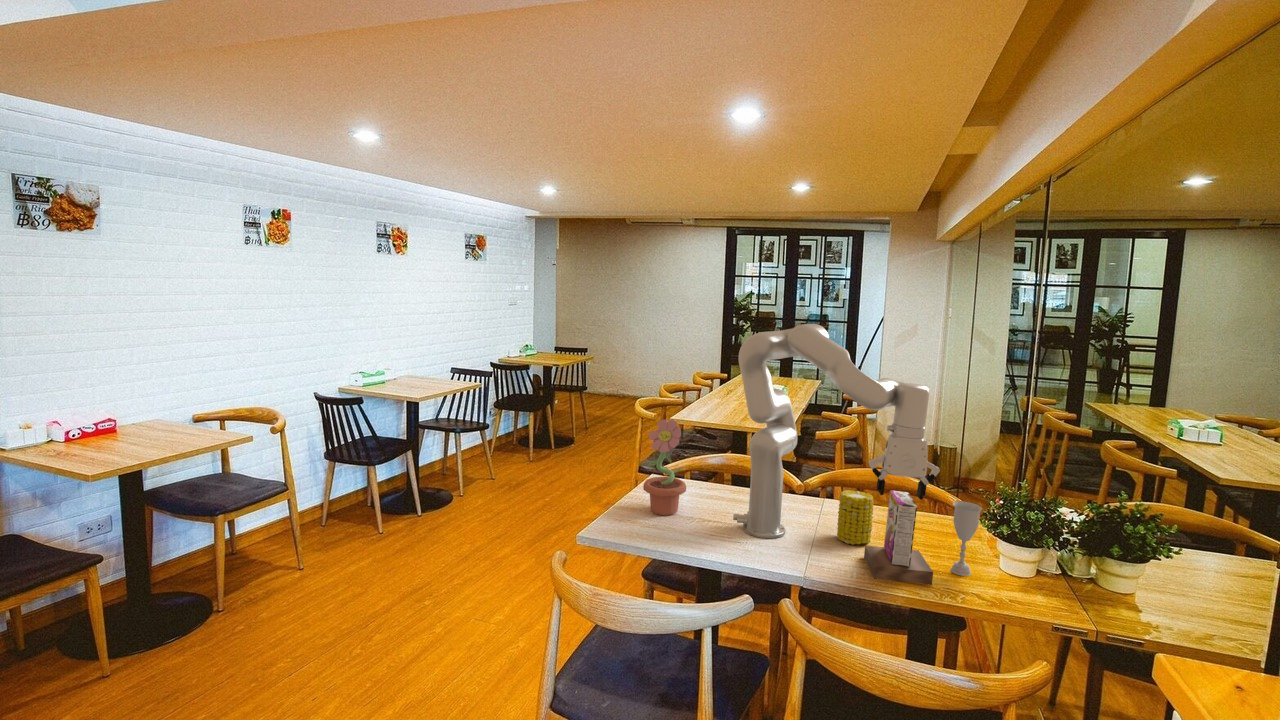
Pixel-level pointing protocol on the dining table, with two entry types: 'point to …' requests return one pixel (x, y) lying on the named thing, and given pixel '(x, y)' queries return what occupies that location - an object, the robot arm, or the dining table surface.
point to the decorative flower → (664, 471)
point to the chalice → (965, 531)
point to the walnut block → (897, 567)
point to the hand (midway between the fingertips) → (900, 495)
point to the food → (855, 517)
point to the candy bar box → (900, 528)
